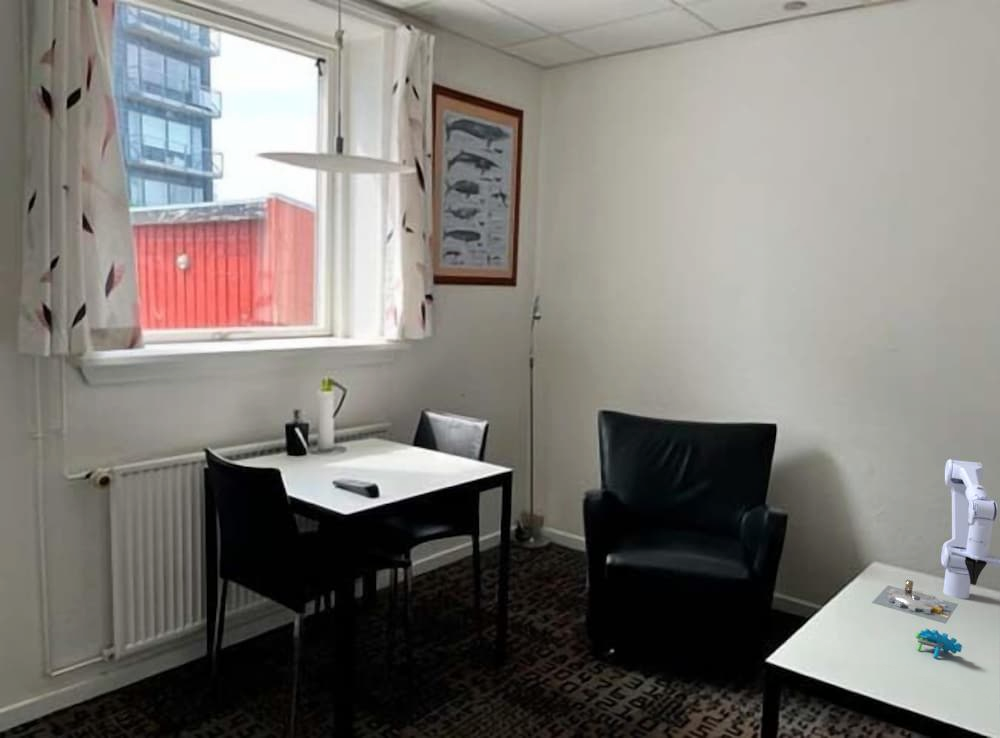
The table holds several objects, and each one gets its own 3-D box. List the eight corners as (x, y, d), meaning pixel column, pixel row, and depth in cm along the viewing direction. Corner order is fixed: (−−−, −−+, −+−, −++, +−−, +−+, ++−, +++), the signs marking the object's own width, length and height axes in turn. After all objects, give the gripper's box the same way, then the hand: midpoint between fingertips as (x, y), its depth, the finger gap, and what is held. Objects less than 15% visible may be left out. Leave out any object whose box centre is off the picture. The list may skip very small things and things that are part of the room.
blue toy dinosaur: (968, 652, 204) (955, 632, 200) (961, 672, 201) (949, 652, 197) (924, 641, 213) (911, 622, 208) (917, 660, 210) (904, 641, 206)
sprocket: (874, 595, 242) (876, 580, 241) (909, 589, 248) (910, 575, 248) (921, 616, 227) (923, 600, 227) (956, 609, 234) (958, 594, 233)
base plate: (887, 588, 252) (888, 585, 252) (957, 607, 239) (957, 603, 239) (871, 605, 237) (871, 602, 236) (944, 626, 224) (945, 623, 224)
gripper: (948, 536, 231) (943, 580, 233) (1005, 549, 222) (999, 594, 223) (953, 531, 236) (947, 574, 238) (1008, 543, 227) (1003, 587, 229)
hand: (973, 583), depth 231 cm, fingers closed
